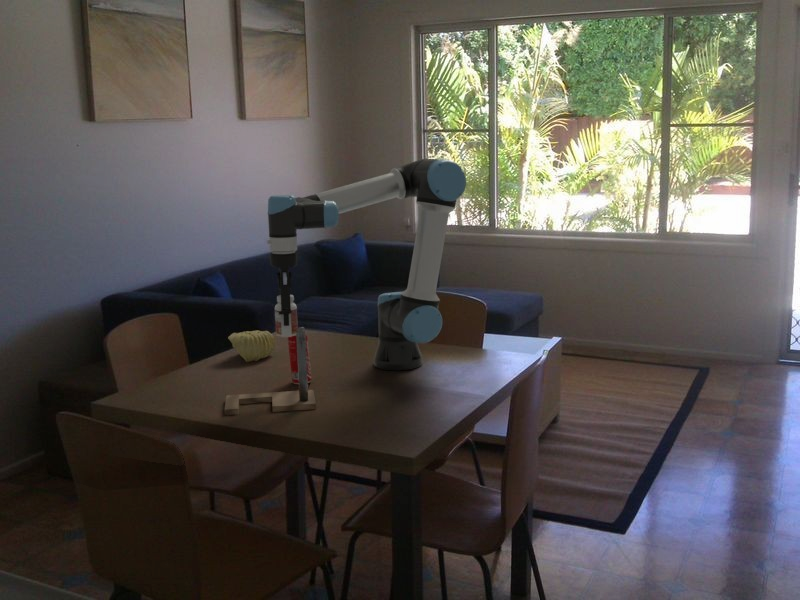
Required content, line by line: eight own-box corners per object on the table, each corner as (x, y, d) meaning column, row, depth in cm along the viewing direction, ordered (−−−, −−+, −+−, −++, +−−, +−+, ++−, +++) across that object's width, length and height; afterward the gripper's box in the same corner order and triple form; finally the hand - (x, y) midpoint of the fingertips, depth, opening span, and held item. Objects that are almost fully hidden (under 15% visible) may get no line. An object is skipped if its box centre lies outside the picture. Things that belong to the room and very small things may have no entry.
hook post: (308, 404, 244) (304, 321, 240) (309, 413, 237) (305, 328, 232) (299, 404, 244) (295, 322, 240) (300, 413, 236) (296, 328, 232)
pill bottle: (293, 331, 255) (292, 293, 253) (301, 335, 249) (299, 296, 247) (272, 334, 252) (271, 295, 250) (280, 338, 247) (278, 298, 244)
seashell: (283, 363, 297) (256, 346, 307) (286, 333, 294) (258, 317, 303) (241, 373, 286) (214, 356, 295) (244, 342, 282) (217, 326, 291)
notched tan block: (313, 394, 253) (313, 389, 252) (316, 408, 240) (315, 403, 240) (226, 400, 249) (226, 395, 249) (224, 415, 237) (224, 409, 236)
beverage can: (308, 385, 262) (306, 335, 259) (287, 384, 263) (284, 335, 260) (314, 379, 267) (312, 330, 265) (293, 379, 269) (291, 330, 266)
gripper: (269, 247, 255) (272, 327, 259) (270, 257, 236) (273, 342, 241) (295, 247, 256) (298, 326, 260) (298, 256, 237) (301, 341, 242)
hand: (286, 333), depth 251 cm, fingers closed on pill bottle, 6 cm apart
